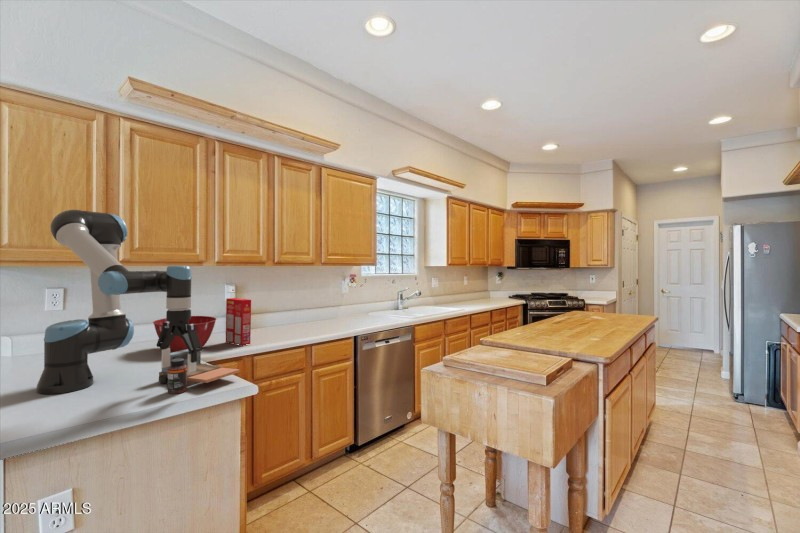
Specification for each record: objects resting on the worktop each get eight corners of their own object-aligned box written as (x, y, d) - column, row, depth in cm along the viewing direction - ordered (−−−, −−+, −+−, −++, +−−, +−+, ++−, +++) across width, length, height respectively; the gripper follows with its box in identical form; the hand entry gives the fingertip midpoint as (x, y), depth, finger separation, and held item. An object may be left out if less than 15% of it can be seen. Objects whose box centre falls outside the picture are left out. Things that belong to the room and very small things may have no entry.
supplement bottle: (183, 387, 137) (183, 356, 137) (189, 391, 133) (190, 359, 133) (164, 391, 133) (165, 359, 133) (171, 395, 129) (171, 362, 129)
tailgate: (187, 382, 138) (206, 384, 134) (187, 377, 138) (206, 380, 134) (221, 371, 151) (240, 373, 147) (221, 367, 151) (239, 369, 147)
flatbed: (180, 388, 136) (180, 360, 136) (155, 382, 142) (155, 356, 142) (223, 374, 153) (223, 350, 153) (199, 370, 159) (199, 346, 159)
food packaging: (250, 344, 209) (251, 299, 208) (241, 346, 204) (242, 300, 204) (234, 341, 216) (234, 297, 216) (225, 342, 212) (226, 298, 212)
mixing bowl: (188, 358, 177) (189, 325, 177) (137, 353, 183) (138, 322, 183) (227, 345, 205) (227, 317, 205) (182, 342, 211) (182, 314, 211)
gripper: (213, 310, 131) (212, 370, 131) (165, 306, 141) (165, 362, 141) (193, 312, 124) (193, 376, 124) (145, 308, 134) (145, 367, 134)
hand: (178, 369), depth 133 cm, fingers open, 13 cm apart
